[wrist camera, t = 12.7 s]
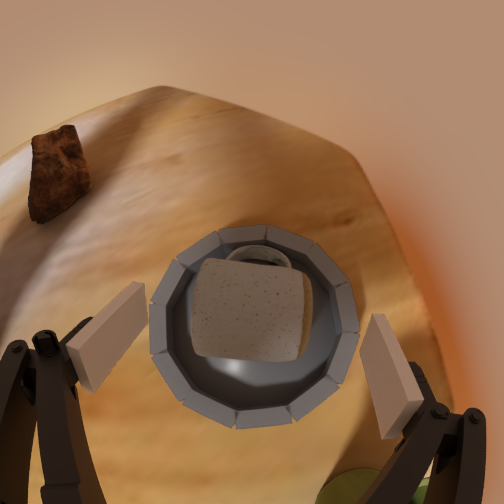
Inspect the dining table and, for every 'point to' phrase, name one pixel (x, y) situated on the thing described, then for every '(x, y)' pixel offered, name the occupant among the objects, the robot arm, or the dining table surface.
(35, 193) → the decorative rock
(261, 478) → the dining table surface
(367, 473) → the plant pot
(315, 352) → the round tray
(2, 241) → the dining table surface
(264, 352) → the ceramic mug
